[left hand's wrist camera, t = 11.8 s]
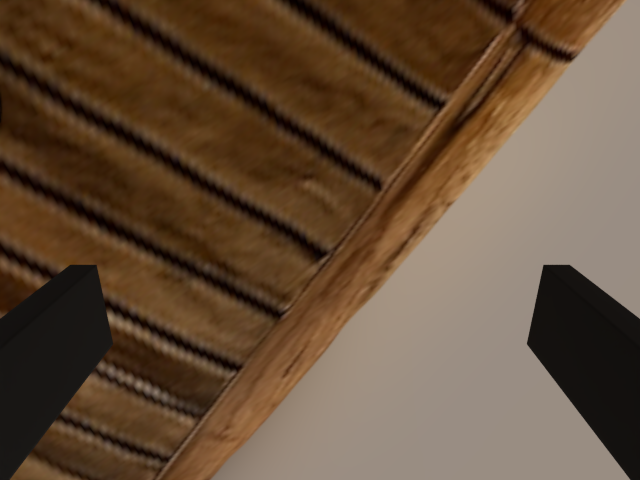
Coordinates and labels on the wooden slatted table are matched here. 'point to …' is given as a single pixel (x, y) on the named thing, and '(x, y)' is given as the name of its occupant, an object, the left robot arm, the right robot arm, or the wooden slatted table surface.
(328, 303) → the wooden slatted table surface
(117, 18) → the wooden slatted table surface
